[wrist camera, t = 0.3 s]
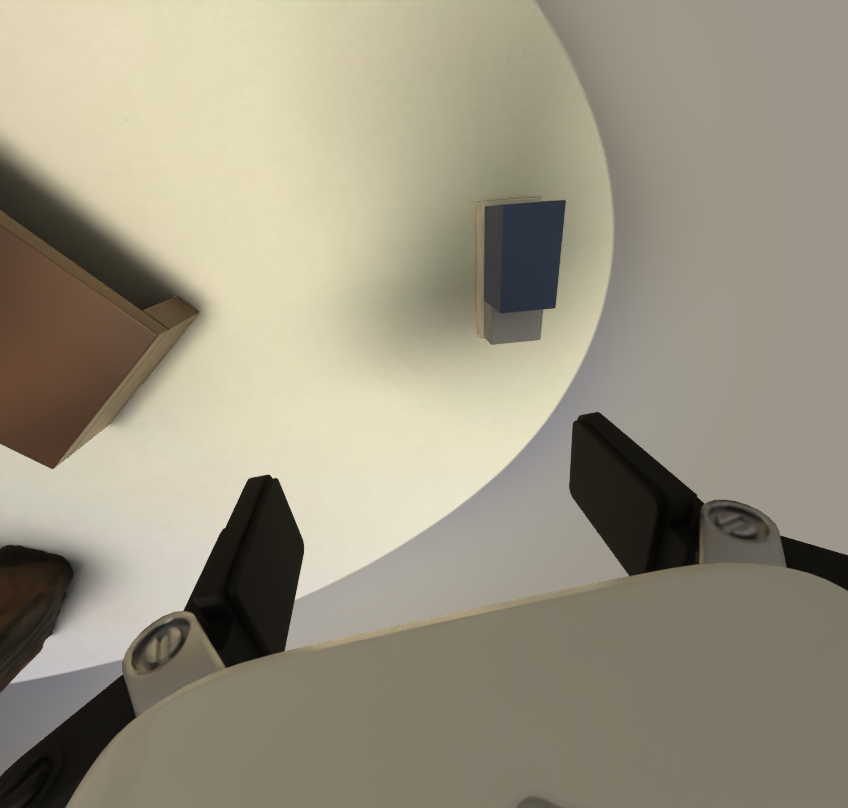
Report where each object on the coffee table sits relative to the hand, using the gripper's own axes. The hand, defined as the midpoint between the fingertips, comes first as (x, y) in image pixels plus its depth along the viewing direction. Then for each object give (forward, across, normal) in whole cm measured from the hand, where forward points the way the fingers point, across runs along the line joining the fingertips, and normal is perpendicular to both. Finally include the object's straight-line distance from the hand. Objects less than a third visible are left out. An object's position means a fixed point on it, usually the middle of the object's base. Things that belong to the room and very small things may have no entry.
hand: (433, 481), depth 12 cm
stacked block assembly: (+18, -8, -3) cm, 20 cm away
